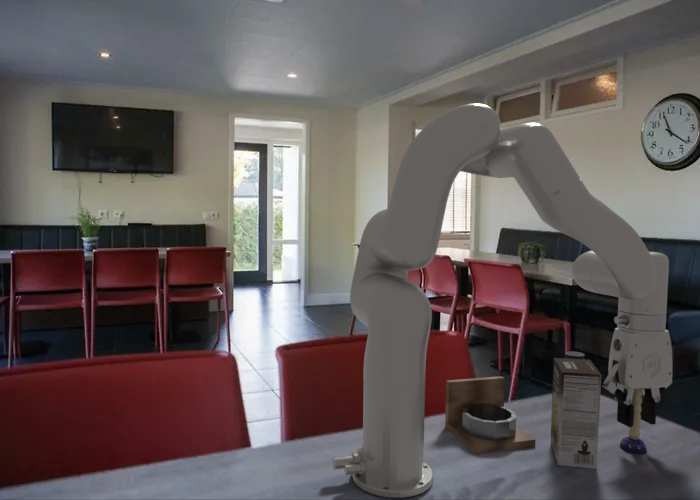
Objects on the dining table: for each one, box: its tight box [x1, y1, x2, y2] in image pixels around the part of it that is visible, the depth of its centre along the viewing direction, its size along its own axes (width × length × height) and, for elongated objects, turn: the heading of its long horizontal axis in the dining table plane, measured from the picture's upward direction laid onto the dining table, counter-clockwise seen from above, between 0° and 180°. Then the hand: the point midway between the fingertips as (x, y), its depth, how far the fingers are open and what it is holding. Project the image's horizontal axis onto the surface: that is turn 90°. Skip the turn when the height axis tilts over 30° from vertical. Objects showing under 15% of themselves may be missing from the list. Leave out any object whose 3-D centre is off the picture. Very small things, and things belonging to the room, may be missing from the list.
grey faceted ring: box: [462, 403, 517, 441], centre depth 102 cm, size 10×10×3 cm
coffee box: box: [550, 357, 602, 470], centre depth 94 cm, size 9×6×16 cm
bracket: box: [444, 376, 536, 454], centre depth 102 cm, size 12×12×9 cm
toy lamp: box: [619, 389, 648, 454], centre depth 98 cm, size 5×5×17 cm
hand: (636, 421), depth 98 cm, fingers open, 4 cm apart
